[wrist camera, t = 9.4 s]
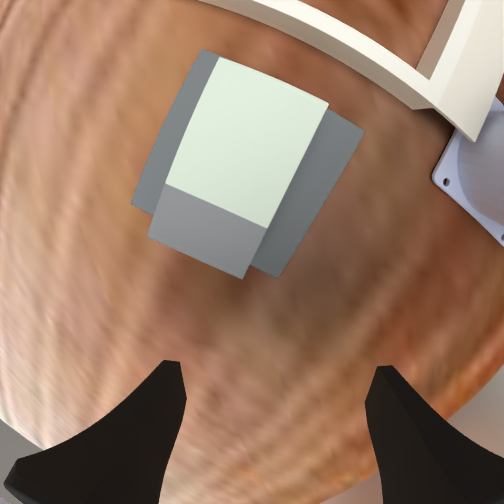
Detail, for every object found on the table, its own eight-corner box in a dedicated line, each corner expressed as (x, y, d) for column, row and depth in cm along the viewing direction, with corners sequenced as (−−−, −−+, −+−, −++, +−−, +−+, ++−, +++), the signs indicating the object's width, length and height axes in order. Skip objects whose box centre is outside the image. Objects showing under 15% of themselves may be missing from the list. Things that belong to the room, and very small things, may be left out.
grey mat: (362, 131, 16) (365, 131, 15) (277, 275, 19) (277, 278, 19) (203, 51, 14) (202, 48, 14) (133, 201, 18) (130, 203, 18)
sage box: (312, 112, 15) (329, 103, 10) (250, 240, 18) (242, 279, 13) (235, 78, 15) (219, 56, 10) (179, 208, 17) (146, 236, 13)
